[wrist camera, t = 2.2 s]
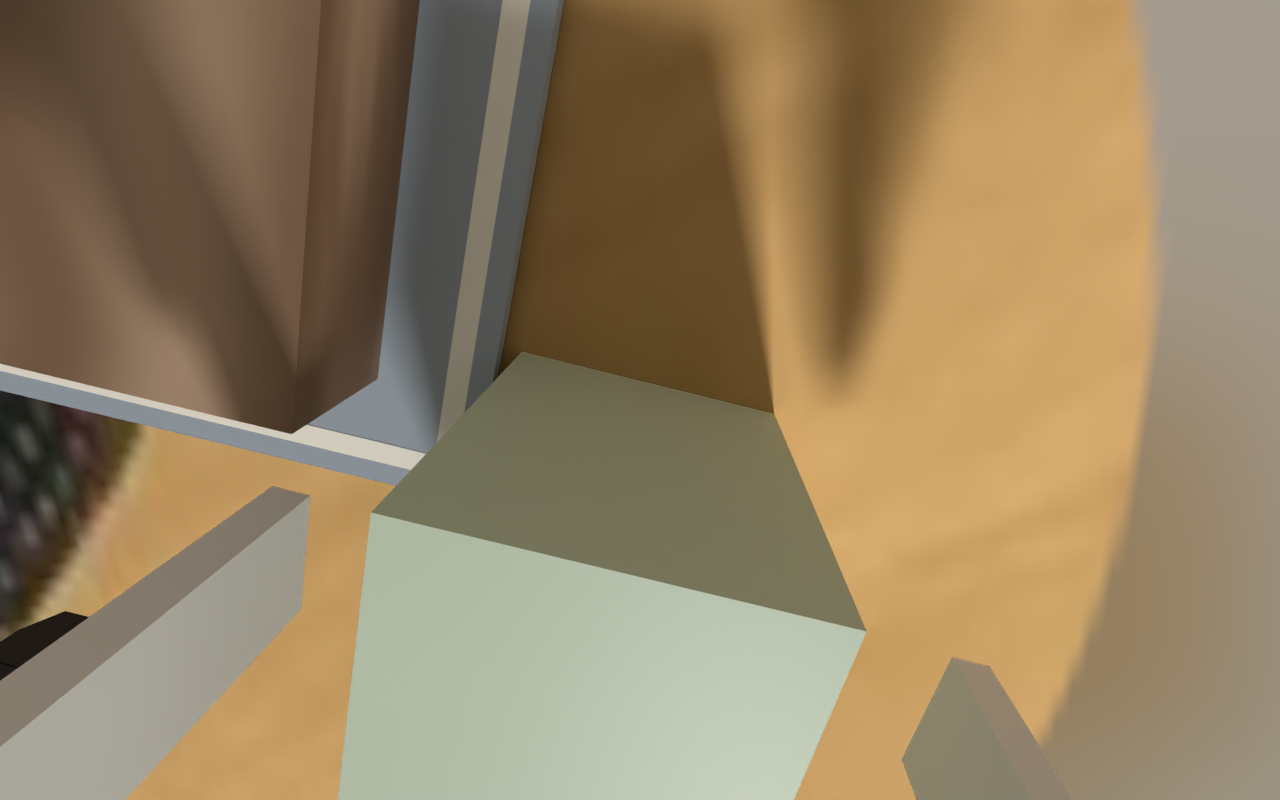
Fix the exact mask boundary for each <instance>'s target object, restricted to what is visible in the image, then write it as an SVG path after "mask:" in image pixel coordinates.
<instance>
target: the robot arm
mask: <svg viewBox="0 0 1280 800" xmlns="http://www.w3.org/2000/svg"><path fill="white" fill-rule="evenodd" d="M309 504H310V495H306V494H302V493H298V492H294V491H290V490H286V489H282V488H278V487H274V486H272V487H271V488H269V489H268V490H266V491H265V492H264V493H262V494H261V495H259V496H258V497H257V498H255V499H254V500H252V501H251V502H250V503H248V504H247V505H245V506H244V507H243V508H241V509H240V510H238V511H237V512H236V513H234V514H233V515H231V516H230V517H229V518H227V519H226V520H224V521H223V522H222V523H220V524H219V525H217V526H216V527H215V528H213V529H212V530H210V531H209V532H208V533H206V534H205V535H203V536H202V537H201V538H199V539H198V540H196V541H195V542H194V543H192V544H191V545H189V546H188V547H187V548H185V549H184V550H182V551H181V552H180V553H178V554H177V555H175V556H174V557H173V558H171V559H170V560H168V561H167V562H166V563H164V564H163V565H161V566H160V567H159V568H157V569H156V570H154V571H153V572H152V573H150V574H149V575H147V576H146V577H145V578H143V579H142V580H140V581H139V582H138V583H136V584H135V585H133V586H132V587H131V588H129V589H128V590H126V591H125V592H124V593H122V594H121V595H119V596H118V597H117V598H115V599H114V600H112V601H111V602H110V603H108V604H107V605H105V606H104V607H103V608H101V609H100V610H98V611H97V612H96V613H94V614H93V615H91V616H90V617H86V616H82V615H78V614H74V613H70V612H66V611H65V612H62V613H60V614H57V615H55V616H52V617H50V618H47V619H45V620H42V621H40V622H37V623H35V624H32V625H30V626H27V627H25V628H22V629H20V630H18V631H16V632H15V633H13V634H12V635H10V636H9V637H7V638H6V639H4V640H3V641H1V642H0V800H126V798H127V797H128V796H129V795H130V794H131V793H132V792H133V791H134V790H135V789H136V788H137V786H138V785H139V784H140V783H141V782H142V781H143V780H144V779H145V778H146V777H147V776H148V775H149V773H150V772H151V771H152V770H153V769H154V768H155V767H156V766H157V765H158V764H159V763H160V762H161V760H162V759H163V758H164V757H165V756H166V755H167V754H168V753H169V752H170V751H171V750H172V749H173V747H174V746H175V745H176V744H177V743H178V742H179V741H180V740H181V739H182V738H183V737H184V736H185V734H186V733H187V732H188V731H189V730H190V729H191V728H192V727H193V726H194V725H195V724H196V723H197V721H198V720H199V719H200V718H201V717H202V716H203V715H204V714H205V713H206V712H207V711H208V710H209V708H210V707H211V706H212V705H213V704H214V703H215V702H216V701H217V700H218V699H219V698H220V697H221V695H222V694H223V693H224V692H225V691H226V690H227V689H228V688H229V687H230V686H231V685H232V684H233V682H234V681H235V680H236V679H237V678H238V677H239V676H240V675H241V674H242V673H243V672H244V671H245V669H246V668H247V667H248V666H249V665H250V664H251V663H252V662H253V661H254V660H255V659H256V658H257V656H258V655H259V654H260V653H261V652H262V651H263V650H264V649H265V648H266V647H267V646H268V645H269V643H270V642H271V641H272V640H273V639H274V638H275V637H276V636H277V635H278V634H279V633H280V631H281V630H282V629H283V628H284V627H285V626H286V625H287V624H288V623H289V622H290V621H291V620H292V618H293V617H294V616H295V615H296V614H297V613H298V612H299V611H300V610H301V605H302V592H303V580H304V567H305V555H306V542H307V529H308V517H309ZM902 762H903V764H904V767H905V770H906V772H907V775H908V778H909V781H910V783H911V786H912V789H913V791H914V794H915V797H916V799H917V800H1073V799H1072V797H1071V796H1070V794H1069V792H1068V791H1067V789H1066V788H1065V786H1064V785H1063V783H1062V781H1061V780H1060V778H1059V776H1058V775H1057V773H1056V772H1055V770H1054V768H1053V767H1052V765H1051V764H1050V762H1049V760H1048V759H1047V757H1046V756H1045V754H1044V753H1043V751H1042V749H1041V748H1040V746H1039V745H1038V743H1037V741H1036V740H1035V738H1034V737H1033V735H1032V733H1031V732H1030V730H1029V729H1028V727H1027V725H1026V724H1025V722H1024V721H1023V719H1022V717H1021V716H1020V714H1019V713H1018V711H1017V709H1016V708H1015V706H1014V705H1013V703H1012V701H1011V700H1010V698H1009V697H1008V695H1007V693H1006V692H1005V690H1004V689H1003V687H1002V685H1001V684H1000V682H999V681H998V679H997V678H996V676H995V674H994V673H993V671H992V670H991V668H990V666H986V665H982V664H978V663H974V662H970V661H966V660H962V659H958V658H954V657H952V659H951V661H950V663H949V665H948V667H947V669H946V671H945V673H944V675H943V677H942V679H941V681H940V683H939V685H938V687H937V689H936V691H935V693H934V695H933V697H932V699H931V701H930V703H929V705H928V707H927V709H926V711H925V713H924V715H923V717H922V719H921V721H920V723H919V725H918V727H917V729H916V731H915V733H914V735H913V737H912V739H911V741H910V744H909V746H908V748H907V750H906V752H905V754H904V756H903V758H902Z"/></svg>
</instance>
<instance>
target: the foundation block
mask: <svg viewBox="0 0 1280 800" xmlns="http://www.w3.org/2000/svg"><path fill="white" fill-rule="evenodd" d="M419 4H420V0H0V364H3V365H7V366H12V367H16V368H20V369H24V370H28V371H32V372H36V373H40V374H45V375H49V376H53V377H57V378H61V379H65V380H69V381H74V382H78V383H82V384H86V385H90V386H94V387H98V388H102V389H107V390H111V391H115V392H119V393H123V394H127V395H131V396H136V397H140V398H144V399H148V400H152V401H156V402H160V403H165V404H169V405H173V406H177V407H181V408H185V409H189V410H193V411H198V412H202V413H206V414H210V415H214V416H218V417H222V418H227V419H231V420H235V421H239V422H243V423H247V424H251V425H256V426H260V427H264V428H268V429H272V430H276V431H280V432H284V433H289V434H293V433H295V432H296V431H298V430H299V429H301V428H302V427H304V426H306V425H307V424H309V423H310V422H312V421H313V420H315V419H316V418H318V417H319V416H321V415H323V414H324V413H326V412H327V411H329V410H330V409H332V408H333V407H335V406H337V405H338V404H340V403H341V402H343V401H344V400H346V399H347V398H349V397H350V396H352V395H354V394H355V393H357V392H358V391H360V390H361V389H363V388H364V387H366V386H367V385H369V384H371V383H372V382H374V381H375V380H377V379H378V372H379V363H380V354H381V345H382V336H383V327H384V318H385V309H386V300H387V291H388V282H389V273H390V264H391V255H392V246H393V237H394V228H395V219H396V210H397V201H398V192H399V183H400V174H401V165H402V156H403V147H404V139H405V130H406V121H407V112H408V103H409V94H410V85H411V76H412V67H413V58H414V49H415V40H416V31H417V22H418V13H419Z"/></svg>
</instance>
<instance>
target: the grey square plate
mask: <svg viewBox="0 0 1280 800" xmlns="http://www.w3.org/2000/svg"><path fill="white" fill-rule="evenodd" d="M564 1H565V0H420V4H419V13H418V22H417V31H416V40H415V49H414V58H413V67H412V76H411V85H410V94H409V103H408V112H407V121H406V130H405V139H404V147H403V156H402V165H401V174H400V183H399V192H398V201H397V210H396V219H395V228H394V237H393V246H392V255H391V264H390V273H389V282H388V291H387V300H386V309H385V318H384V327H383V336H382V345H381V354H380V363H379V372H378V379H377V380H375V381H374V382H372V383H371V384H369V385H367V386H366V387H364V388H363V389H361V390H360V391H358V392H357V393H355V394H354V395H352V396H350V397H349V398H347V399H346V400H344V401H343V402H341V403H340V404H338V405H337V406H335V407H333V408H332V409H330V410H329V411H327V412H326V413H324V414H323V415H321V416H319V417H318V418H316V419H315V420H313V421H312V422H310V423H309V424H307V425H306V426H304V427H302V428H301V429H299V430H298V431H296V432H295V433H293V434H289V433H284V432H280V431H276V430H272V429H268V428H264V427H260V426H256V425H251V424H247V423H243V422H239V421H235V420H231V419H227V418H222V417H218V416H214V415H210V414H206V413H202V412H198V411H193V410H189V409H185V408H181V407H177V406H173V405H169V404H165V403H160V402H156V401H152V400H148V399H144V398H140V397H136V396H131V395H127V394H123V393H119V392H115V391H111V390H107V389H102V388H98V387H94V386H90V385H86V384H82V383H78V382H74V381H69V380H65V379H61V378H57V377H53V376H49V375H45V374H40V373H36V372H32V371H28V370H24V369H20V368H16V367H12V366H7V365H3V364H0V390H1V391H5V392H10V393H14V394H18V395H22V396H26V397H30V398H34V399H39V400H43V401H47V402H51V403H55V404H59V405H64V406H68V407H72V408H76V409H80V410H84V411H88V412H93V413H97V414H101V415H105V416H109V417H113V418H118V419H122V420H126V421H130V422H134V423H138V424H142V425H147V426H151V427H155V428H159V429H163V430H167V431H172V432H176V433H180V434H184V435H188V436H192V437H196V438H201V439H205V440H209V441H213V442H217V443H221V444H226V445H230V446H234V447H238V448H242V449H246V450H250V451H255V452H259V453H263V454H267V455H271V456H275V457H280V458H284V459H288V460H292V461H296V462H300V463H304V464H309V465H313V466H317V467H321V468H325V469H329V470H334V471H338V472H342V473H346V474H350V475H354V476H358V477H363V478H367V479H371V480H375V481H379V482H383V483H387V484H392V485H397V484H398V483H399V482H400V481H401V480H402V479H403V478H404V477H405V476H406V475H407V474H408V473H409V472H410V471H411V469H412V468H413V467H414V466H415V465H416V464H417V463H418V462H419V461H420V460H421V459H422V458H423V457H424V456H425V455H426V453H427V452H428V451H429V450H430V449H431V448H432V447H433V446H434V445H435V444H436V443H437V442H438V441H439V440H440V439H441V437H442V436H443V435H444V434H445V433H446V432H447V431H448V430H449V429H450V428H451V427H452V426H453V425H454V424H455V423H456V421H457V420H458V419H459V418H460V417H461V416H462V415H463V414H464V413H465V412H466V411H467V410H468V409H469V408H470V406H471V405H472V404H473V403H474V402H475V401H476V400H477V399H478V398H479V397H480V396H481V395H482V394H483V393H484V392H485V390H486V389H487V388H488V387H489V386H490V385H491V384H492V383H493V382H494V381H495V380H496V379H497V378H498V375H499V370H500V364H501V358H502V353H503V347H504V341H505V336H506V330H507V324H508V319H509V313H510V307H511V302H512V296H513V290H514V285H515V279H516V273H517V268H518V262H519V256H520V251H521V245H522V239H523V233H524V228H525V222H526V216H527V211H528V205H529V199H530V194H531V188H532V182H533V177H534V171H535V165H536V160H537V154H538V148H539V143H540V137H541V131H542V126H543V120H544V114H545V109H546V103H547V97H548V91H549V86H550V80H551V74H552V69H553V63H554V57H555V52H556V46H557V40H558V35H559V29H560V23H561V18H562V12H563V6H564Z"/></svg>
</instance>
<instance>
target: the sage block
mask: <svg viewBox="0 0 1280 800" xmlns="http://www.w3.org/2000/svg"><path fill="white" fill-rule="evenodd" d="M866 632H867V631H866V629H865V627H864V624H863V622H862V620H861V617H860V615H859V612H858V610H857V608H856V605H855V603H854V601H853V598H852V596H851V594H850V591H849V589H848V587H847V584H846V582H845V580H844V577H843V575H842V572H841V570H840V568H839V565H838V563H837V561H836V558H835V556H834V554H833V551H832V549H831V547H830V544H829V542H828V540H827V537H826V535H825V532H824V530H823V528H822V525H821V523H820V521H819V518H818V516H817V514H816V511H815V509H814V507H813V504H812V502H811V499H810V497H809V495H808V492H807V490H806V488H805V485H804V483H803V481H802V478H801V476H800V474H799V471H798V469H797V467H796V464H795V462H794V459H793V457H792V455H791V452H790V450H789V448H788V445H787V443H786V441H785V438H784V436H783V434H782V431H781V429H780V427H779V424H778V422H777V419H776V417H775V415H774V414H773V413H769V412H765V411H761V410H757V409H753V408H749V407H745V406H741V405H737V404H733V403H729V402H725V401H721V400H717V399H713V398H709V397H705V396H701V395H697V394H692V393H688V392H684V391H680V390H676V389H672V388H668V387H664V386H660V385H656V384H652V383H648V382H644V381H640V380H636V379H632V378H628V377H624V376H620V375H616V374H612V373H607V372H603V371H599V370H595V369H591V368H587V367H583V366H579V365H575V364H571V363H567V362H563V361H559V360H555V359H551V358H547V357H543V356H539V355H535V354H531V353H527V352H523V351H522V352H521V353H520V354H519V355H518V356H517V357H516V358H515V360H514V361H513V362H512V363H511V364H510V365H509V366H508V367H507V368H506V369H505V370H504V371H503V372H502V373H501V374H500V376H499V377H498V378H497V379H496V380H495V381H494V382H493V383H492V384H491V385H490V386H489V387H488V388H487V389H486V390H485V392H484V393H483V394H482V395H481V396H480V397H479V398H478V399H477V400H476V401H475V402H474V403H473V404H472V405H471V406H470V408H469V409H468V410H467V411H466V412H465V413H464V414H463V415H462V416H461V417H460V418H459V419H458V420H457V421H456V423H455V424H454V425H453V426H452V427H451V428H450V429H449V430H448V431H447V432H446V433H445V434H444V435H443V436H442V437H441V439H440V440H439V441H438V442H437V443H436V444H435V445H434V446H433V447H432V448H431V449H430V450H429V451H428V452H427V453H426V455H425V456H424V457H423V458H422V459H421V460H420V461H419V462H418V463H417V464H416V465H415V466H414V467H413V468H412V469H411V471H410V472H409V473H408V474H407V475H406V476H405V477H404V478H403V479H402V480H401V481H400V482H399V483H398V484H397V485H396V487H395V488H394V489H393V490H392V491H391V492H390V493H389V494H388V495H387V496H386V497H385V498H384V499H383V500H382V502H381V503H380V504H379V505H378V506H377V507H376V508H375V509H374V510H373V511H372V512H371V518H370V526H369V535H368V543H367V552H366V561H365V569H364V578H363V587H362V595H361V604H360V612H359V621H358V630H357V638H356V647H355V655H354V664H353V673H352V681H351V690H350V699H349V707H348V716H347V724H346V733H345V742H344V750H343V759H342V767H341V776H340V785H339V793H338V800H794V798H795V796H796V793H797V791H798V789H799V787H800V784H801V782H802V780H803V777H804V775H805V773H806V770H807V768H808V766H809V763H810V761H811V759H812V757H813V754H814V752H815V750H816V747H817V745H818V743H819V740H820V738H821V736H822V733H823V731H824V729H825V726H826V724H827V722H828V720H829V717H830V715H831V713H832V710H833V708H834V706H835V703H836V701H837V699H838V696H839V694H840V692H841V689H842V687H843V685H844V683H845V680H846V678H847V676H848V673H849V671H850V669H851V666H852V664H853V662H854V659H855V657H856V655H857V653H858V650H859V648H860V646H861V643H862V641H863V639H864V636H865V634H866Z"/></svg>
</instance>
